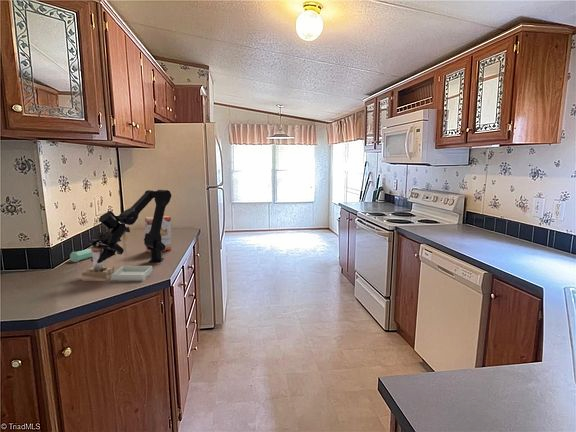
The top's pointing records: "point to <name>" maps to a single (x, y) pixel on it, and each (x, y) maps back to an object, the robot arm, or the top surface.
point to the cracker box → (161, 231)
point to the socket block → (97, 274)
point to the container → (80, 255)
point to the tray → (132, 273)
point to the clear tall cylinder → (96, 255)
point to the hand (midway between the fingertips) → (94, 262)
